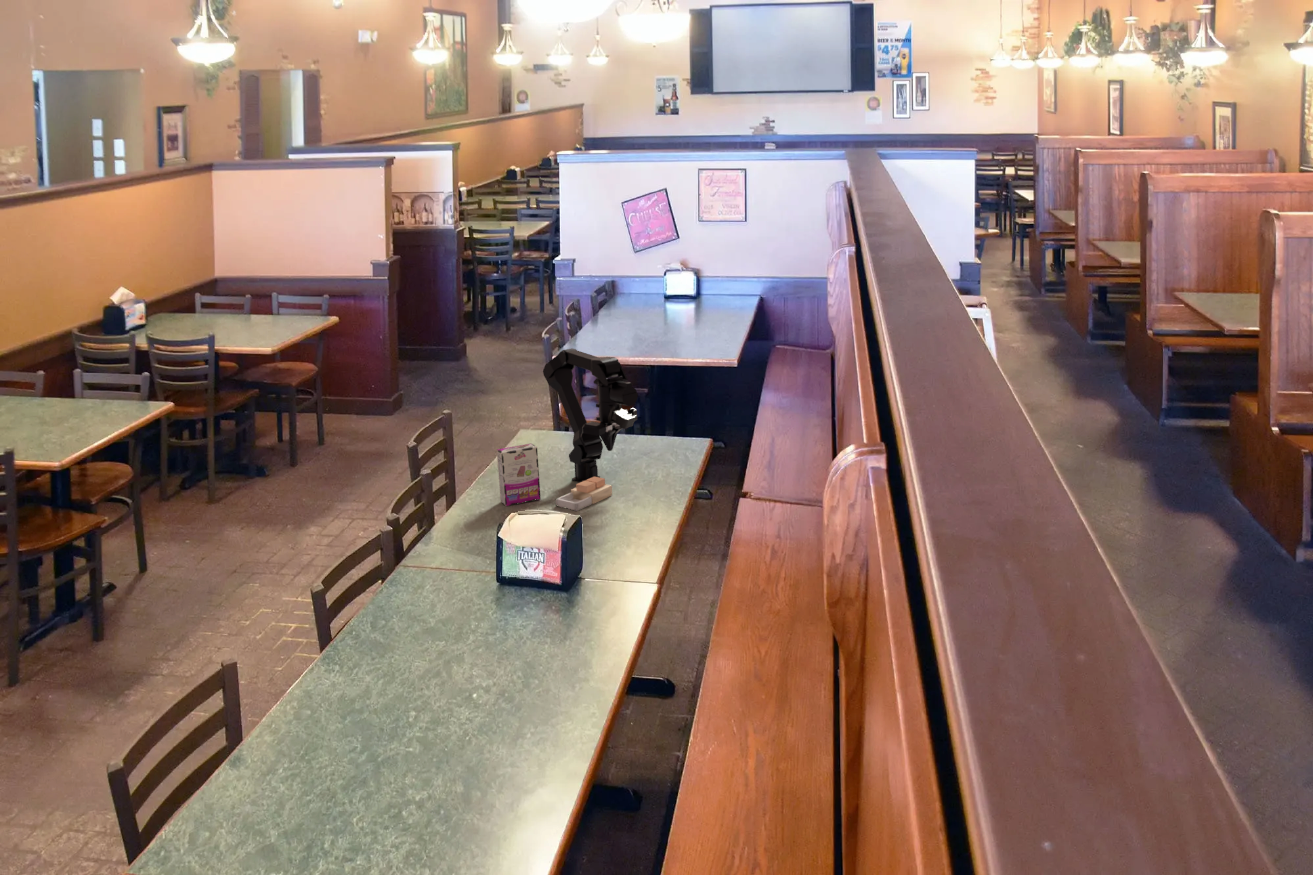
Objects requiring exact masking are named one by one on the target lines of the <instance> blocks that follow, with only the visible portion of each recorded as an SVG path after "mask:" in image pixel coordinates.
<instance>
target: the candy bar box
mask: <svg viewBox="0 0 1313 875" xmlns="http://www.w3.org/2000/svg"><path fill="white" fill-rule="evenodd" d="M538 454H539V453H538V446H536V445H535V444H533V443H527V444H520V445H515V446H508V447H503V448H498V449H496V458H497V459H496V460H497V468H498V469H497V472H498V483H499V496H500V502H501V504H503V505H504V506H506V507H509V506H514V505H518V504H517V503H520V504H523V503H522V502H525V501H530V502H533V501H532V500H535V499H536V500H535V501H538V500H537V499H540V500H541V498H542V497H541V484H540V472H539V471H540V469H539V456H538ZM525 503H526V502H525Z"/></svg>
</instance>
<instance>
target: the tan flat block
mask: <svg viewBox="0 0 1313 875" xmlns="http://www.w3.org/2000/svg"><path fill="white" fill-rule="evenodd" d="M570 492H572V493H573V499H578V500H583V499H585V498H587V497H589V496H590V497H592V504H591V505H594V504H596V503H598V502H601V501H602V500H605V499H607V498H609V497H611V496H613V485H611V484H607V483H605V485H604V486H602V487H600V488H597V489H595V490H593V491H591V492H588V493H585V492H580V491H577V490H576V487H574V488H570Z"/></svg>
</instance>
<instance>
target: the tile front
mask: <svg viewBox="0 0 1313 875" xmlns="http://www.w3.org/2000/svg"><path fill="white" fill-rule="evenodd" d="M575 488H576V490H577V491H580V492H585V493H588V492H591V491H593V490H595V489H596V484H595V483H594V482H589V481H583V482H578V483H575Z"/></svg>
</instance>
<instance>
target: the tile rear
mask: <svg viewBox="0 0 1313 875" xmlns="http://www.w3.org/2000/svg"><path fill="white" fill-rule="evenodd" d="M586 481H589V482H594V483H595V484H596V489H597V488H600V487H602V486H604V485H605V484H606V478H603V477H600V478H599V477H592V478H590V479H587V480H586Z"/></svg>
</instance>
